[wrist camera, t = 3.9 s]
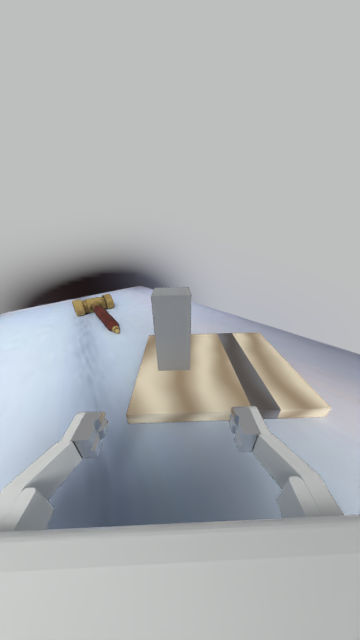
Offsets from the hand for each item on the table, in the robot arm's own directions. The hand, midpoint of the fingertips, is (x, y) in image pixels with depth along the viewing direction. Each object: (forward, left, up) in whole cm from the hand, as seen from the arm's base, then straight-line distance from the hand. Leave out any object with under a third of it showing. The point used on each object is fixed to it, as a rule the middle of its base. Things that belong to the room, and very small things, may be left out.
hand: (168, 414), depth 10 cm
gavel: (+19, -32, -8) cm, 38 cm away
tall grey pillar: (0, -12, -6) cm, 14 cm away
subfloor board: (-6, -12, -8) cm, 16 cm away
